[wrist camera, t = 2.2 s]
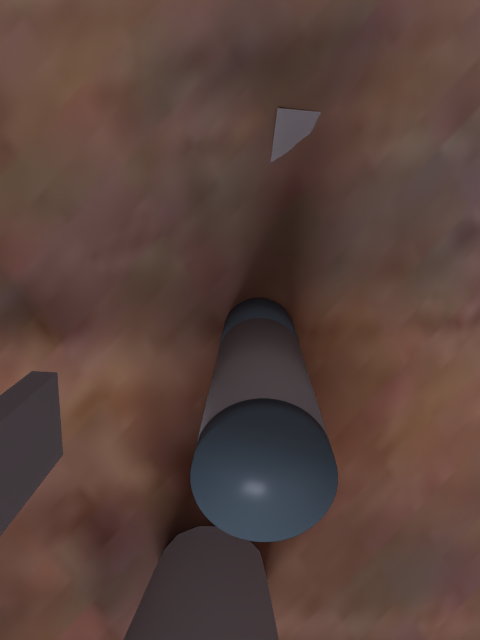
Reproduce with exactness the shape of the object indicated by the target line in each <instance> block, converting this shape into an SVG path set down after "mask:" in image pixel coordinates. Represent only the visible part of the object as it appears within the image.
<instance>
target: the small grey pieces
mask: <svg viewBox="0 0 480 640" xmlns="http://www.w3.org/2000/svg"><path fill="white" fill-rule="evenodd" d="M320 113H321V112H315V111H304V110H293V109H283V108H277V116H276V124H275V131H274V139H273V147H272V155H271V163H272V162H273V161H275V160H276V159H278V158H279V157H281V156H282V155H284V154H286V153H287V152H289V151H290V150H291V149H292V148H293V147H294V146H295V145H296V144H297V143H298V142H299V141H301V140H302V139H303V138H305V137H306V136H308V135H309V134H311V132H312V130H313V128H314V126H315V124H316V122H317V120H318V117H319V115H320Z"/></svg>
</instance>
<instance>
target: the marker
mask: <svg viewBox="0 0 480 640" xmlns="http://www.w3.org/2000/svg"><path fill="white" fill-rule="evenodd" d="M190 480H191V488H192V493H193V495H194V498H195V501H196V503H197V505H198V506H199V508H200V510H201V511H202V512H203V514H204V515H205V516H206V517H207V518H208V519H209V520H210V522H212V523H213V524H214V525H215V526H217V527H218V528H219V529H221V530H223V531H224V532H226V533H228V534H230V535H232V536H235V537H238V538H241V539H244V540H249V541H256V542H274V541H280V540H285V539H289V538H292V537H294V536H297V535H299V534H301V533H303V532H305V531H306V530H308V529H310V528H311V527H313V526H314V525H315V524H316V523H317V522H318V521H319V520H320V519H321V518H322V517H323V516H324V515H325V514H326V512H327V511H328V509H329V508H330V506H331V504H332V502H333V500H334V497H335V494H336V490H337V485H338V472H337V465H336V462H335V458H334V455H333V452H332V448H331V445H330V442H329V439H328V435H327V432H326V429H325V426H324V423H323V419H322V416H321V413H320V410H319V406H318V403H317V400H316V397H315V393H314V390H313V387H312V384H311V381H310V377H309V374H308V371H307V368H306V364H305V361H304V358H303V355H302V352H301V348H300V345H299V342H298V339H297V335H296V332H295V329H294V326H293V323H292V320H291V317H290V316H289V314H288V312H287V311H286V310H285V309H284V308H283V307H282V306H281V305H279V304H278V303H276V302H274V301H272V300H269V299H265V298H253V299H248V300H245V301H243V302H241V303H240V304H238V305H237V306H235V307H234V308H233V309H232V310H231V312H230V313H229V315H228V316H227V319H226V321H225V325H224V329H223V333H222V338H221V342H220V346H219V350H218V355H217V359H216V363H215V367H214V372H213V376H212V380H211V385H210V389H209V393H208V397H207V402H206V406H205V410H204V414H203V419H202V423H201V427H200V432H199V436H198V440H197V444H196V449H195V453H194V457H193V461H192V466H191V474H190Z"/></svg>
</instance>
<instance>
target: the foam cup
mask: <svg viewBox="0 0 480 640" xmlns="http://www.w3.org/2000/svg"><path fill="white" fill-rule="evenodd" d="M124 640H279V639H278V633H277V628H276V623H275V618H274V613H273V607H272V602H271V597H270V592H269V587H268V582H267V577H266V574H265V568H264V565H263V561H262V557H261V554H260V551H259V550H258V549H257V548H256V547H255V546H254V545H253V544H252V543H251V542H250V541H249V540H244V539H241V538H238V537H235V536H232V535H230V534H228V533H226V532H224V531H223V530H221V529H219V528H218V527H217V526H198V527H195V528H193V529H190V530H188V531H185V532H183V533H180V534H178V535H177V536H176V537H175V538H174V539H173V540H172V541H171V542H170V544H169V545H168V546H167V547H166V548H165V549H164V550H163V554H162V556H161V557H160V559H159V561H158V563H157V565H156V568H155V570H154V572H153V574H152V577H151V579H150V581H149V583H148V586H147V588H146V590H145V592H144V595H143V597H142V599H141V601H140V604H139V606H138V608H137V610H136V613H135V615H134V617H133V619H132V622H131V624H130V626H129V629H128V631H127V633H126V635H125V638H124Z"/></svg>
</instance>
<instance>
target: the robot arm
mask: <svg viewBox="0 0 480 640" xmlns="http://www.w3.org/2000/svg"><path fill="white" fill-rule="evenodd" d="M62 455H63V447H62V433H61V419H60V405H59V391H58V377H57V373H55V372H37V371H32V372H30V373H29V374H28V375H26V376H25V377H24V378H23V379H21V380H20V381H19V382H17V383H16V384H15V385H13V386H12V387H11V388H9V389H8V390H7V391H6V392H4V393H3V394H2V395H0V536H1V535H2V533H3V532H4V531H5V529H6V528H7V527H8V525H9V524H10V523H11V522H12V520H13V519H14V518H15V516H16V515H17V514H18V512H19V511H20V510H21V509H22V507H23V506H24V505H25V503H26V502H27V501H28V499H29V498H30V497H31V495H32V494H33V493H34V492H35V490H36V489H37V488H38V486H39V485H40V484H41V482H42V481H43V480H44V479H45V477H46V476H47V475H48V473H49V472H50V471H51V469H52V468H53V467H54V466H55V464H56V463H57V462H58V460H59V459H60V458H61V456H62Z"/></svg>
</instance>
